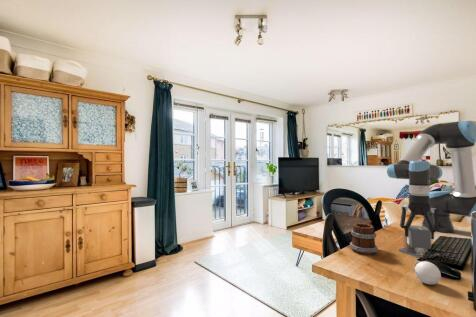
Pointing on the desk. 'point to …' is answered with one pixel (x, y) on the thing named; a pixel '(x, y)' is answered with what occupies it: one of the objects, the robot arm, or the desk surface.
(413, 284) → the desk surface
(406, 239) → the bracket
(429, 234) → the squarish grey box
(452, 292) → the desk surface
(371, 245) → the brown banded cylinder
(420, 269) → the white egg
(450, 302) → the desk surface
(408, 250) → the shaft base
